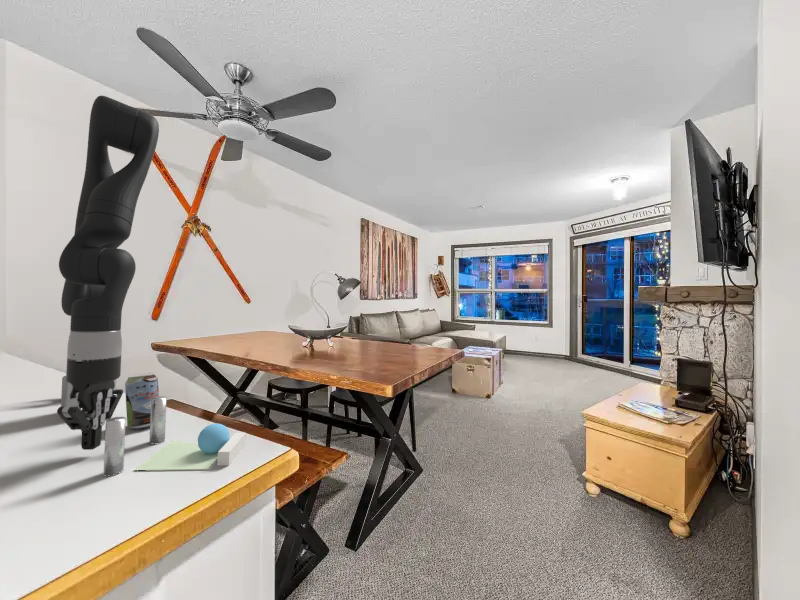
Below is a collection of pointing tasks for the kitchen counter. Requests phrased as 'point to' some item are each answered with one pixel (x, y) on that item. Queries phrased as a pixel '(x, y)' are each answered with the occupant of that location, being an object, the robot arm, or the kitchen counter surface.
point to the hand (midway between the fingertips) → (91, 447)
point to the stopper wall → (231, 449)
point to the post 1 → (114, 445)
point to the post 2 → (158, 419)
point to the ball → (213, 438)
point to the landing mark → (179, 458)
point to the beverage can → (140, 399)
